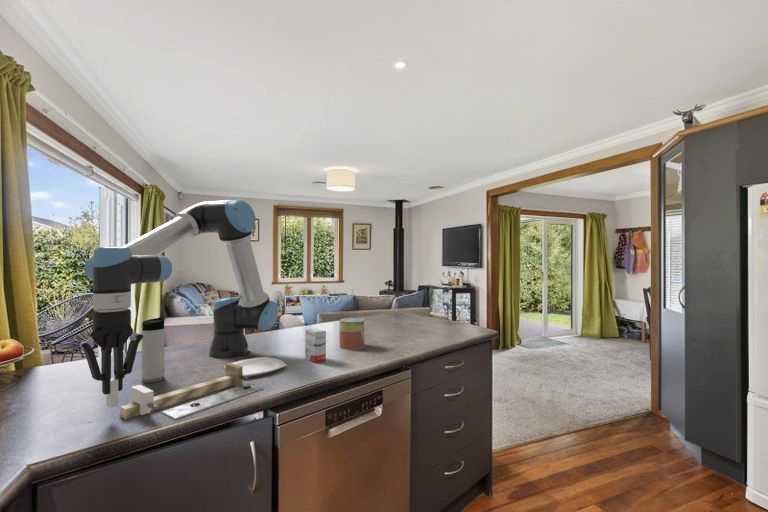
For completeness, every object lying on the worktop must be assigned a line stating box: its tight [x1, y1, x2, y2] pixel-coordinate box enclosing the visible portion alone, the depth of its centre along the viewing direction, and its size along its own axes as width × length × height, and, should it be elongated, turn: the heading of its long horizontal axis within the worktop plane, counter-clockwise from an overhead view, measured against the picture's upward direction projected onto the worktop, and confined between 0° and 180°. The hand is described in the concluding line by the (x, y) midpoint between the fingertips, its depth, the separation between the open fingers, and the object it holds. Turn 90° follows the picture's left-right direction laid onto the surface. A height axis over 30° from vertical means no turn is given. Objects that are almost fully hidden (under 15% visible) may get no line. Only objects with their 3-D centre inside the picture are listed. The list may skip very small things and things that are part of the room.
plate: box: [223, 356, 287, 378], centre depth 131 cm, size 19×19×2 cm
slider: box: [130, 384, 159, 416], centre depth 93 cm, size 2×12×6 cm, turn 55°
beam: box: [119, 362, 249, 420], centre depth 103 cm, size 32×10×6 cm, turn 145°
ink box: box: [304, 327, 327, 364], centre depth 143 cm, size 8×5×12 cm, turn 39°
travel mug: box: [141, 316, 165, 384], centre depth 120 cm, size 6×7×20 cm
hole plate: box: [161, 382, 265, 420], centre depth 103 cm, size 7×26×1 cm, turn 145°
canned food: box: [339, 317, 365, 351], centre depth 164 cm, size 11×11×12 cm
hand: (112, 405), depth 90 cm, fingers closed
